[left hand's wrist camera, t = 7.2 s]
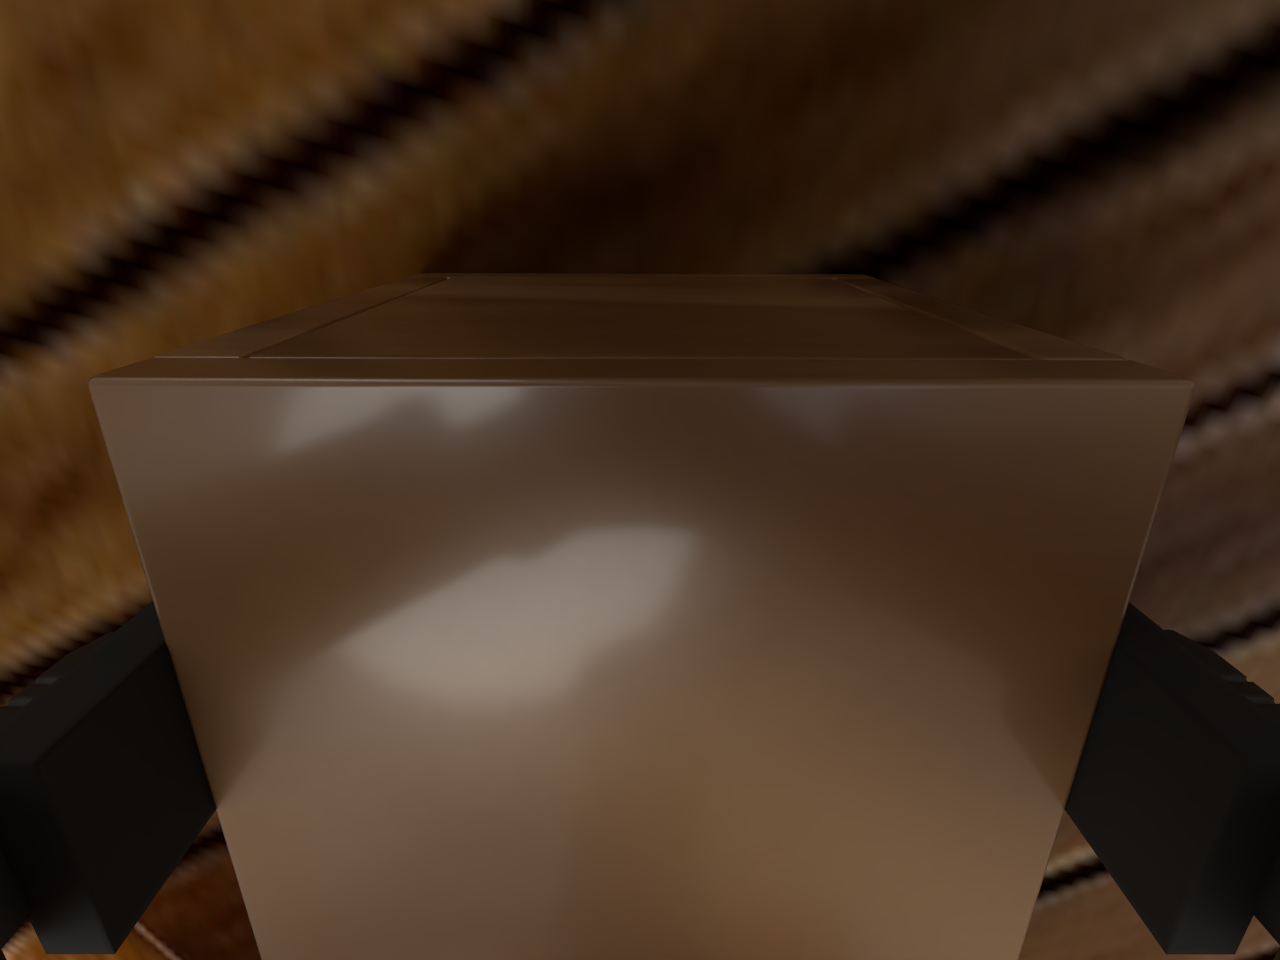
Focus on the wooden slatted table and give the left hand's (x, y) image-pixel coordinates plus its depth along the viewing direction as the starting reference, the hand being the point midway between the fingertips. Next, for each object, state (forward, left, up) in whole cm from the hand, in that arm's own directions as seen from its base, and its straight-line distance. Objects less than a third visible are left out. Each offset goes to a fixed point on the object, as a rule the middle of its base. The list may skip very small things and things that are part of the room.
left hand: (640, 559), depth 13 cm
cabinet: (+3, +5, -7) cm, 9 cm away
